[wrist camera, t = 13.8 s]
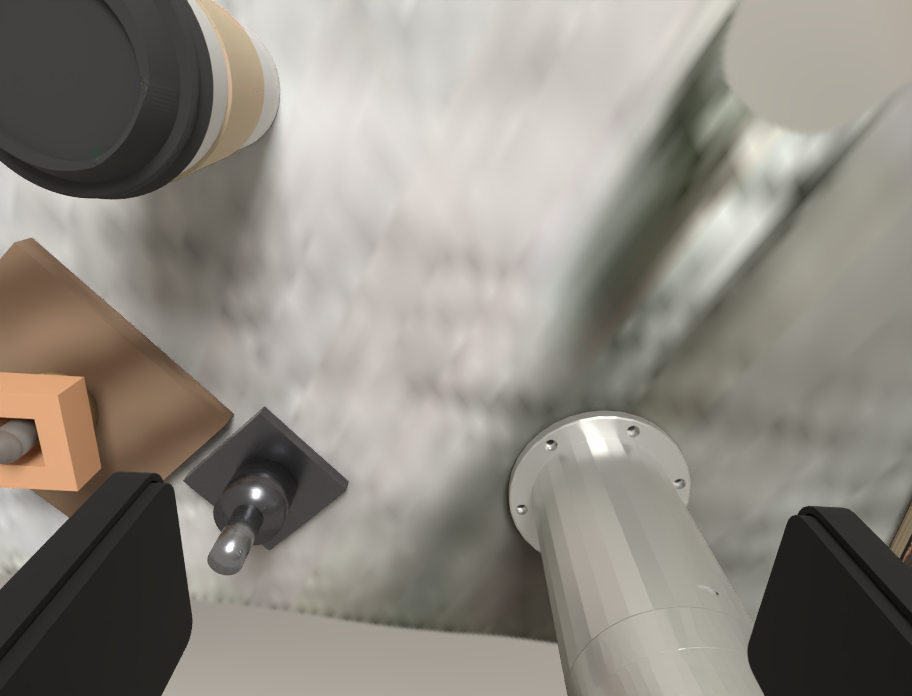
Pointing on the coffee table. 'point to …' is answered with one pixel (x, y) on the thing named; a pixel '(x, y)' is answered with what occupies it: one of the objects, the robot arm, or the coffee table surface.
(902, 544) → the hardcover book
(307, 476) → the stand
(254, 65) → the coffee cup
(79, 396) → the square peach frame
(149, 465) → the toggle switch
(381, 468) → the coffee table surface
